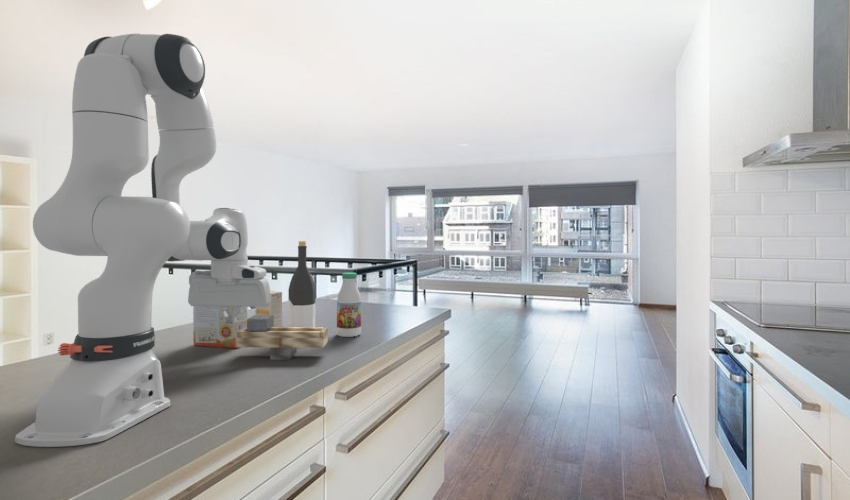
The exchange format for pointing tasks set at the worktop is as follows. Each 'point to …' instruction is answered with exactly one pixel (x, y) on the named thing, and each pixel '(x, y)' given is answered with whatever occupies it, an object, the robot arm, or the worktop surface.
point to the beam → (284, 340)
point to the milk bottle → (349, 307)
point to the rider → (260, 323)
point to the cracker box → (216, 326)
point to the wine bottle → (301, 293)
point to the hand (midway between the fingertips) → (229, 323)
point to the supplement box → (272, 308)
